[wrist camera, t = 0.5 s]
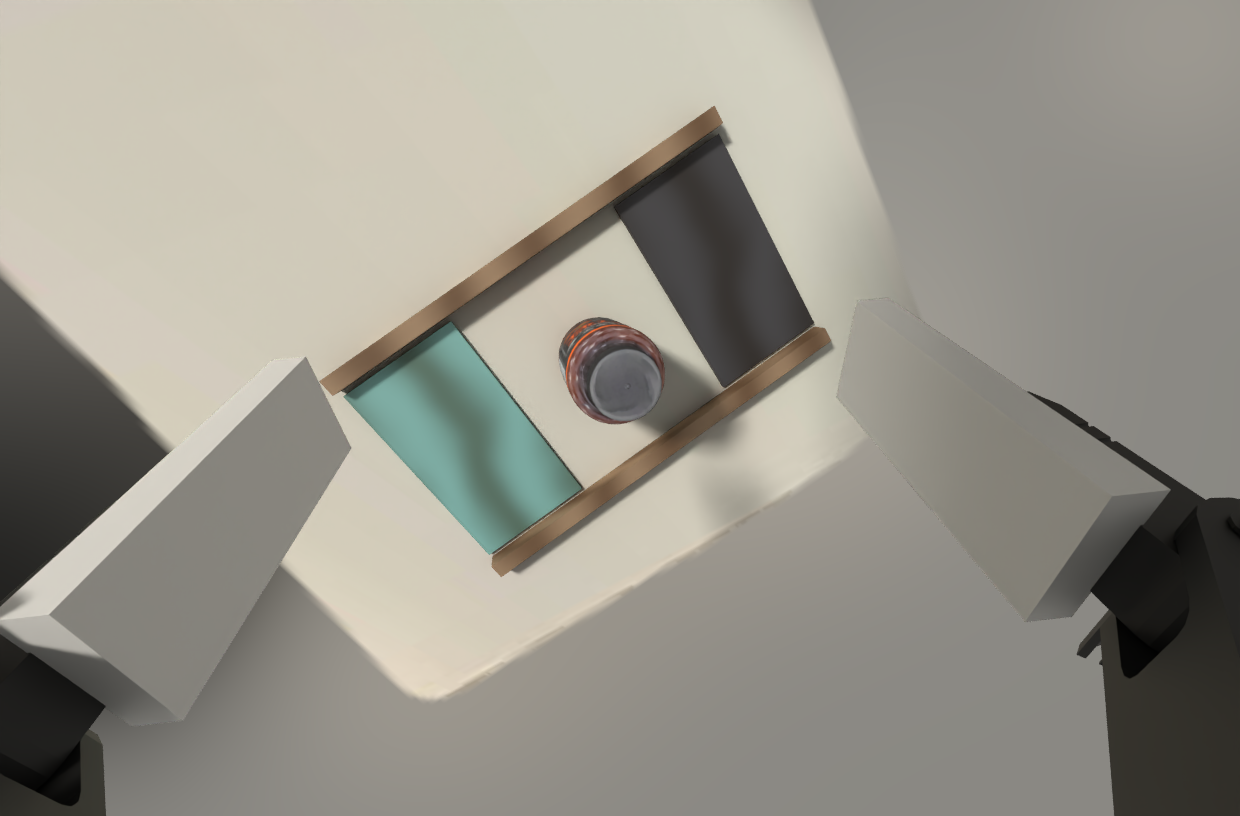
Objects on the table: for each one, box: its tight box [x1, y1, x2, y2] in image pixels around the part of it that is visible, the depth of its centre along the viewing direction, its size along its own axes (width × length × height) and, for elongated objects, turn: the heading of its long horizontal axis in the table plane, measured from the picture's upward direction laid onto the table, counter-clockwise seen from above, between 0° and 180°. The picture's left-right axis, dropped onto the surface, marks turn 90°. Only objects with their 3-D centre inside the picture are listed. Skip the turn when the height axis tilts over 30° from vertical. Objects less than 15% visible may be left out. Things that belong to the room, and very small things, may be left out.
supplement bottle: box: [559, 317, 665, 424], centre depth 31 cm, size 6×6×11 cm
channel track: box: [319, 106, 831, 577], centre depth 36 cm, size 32×19×2 cm, turn 124°
